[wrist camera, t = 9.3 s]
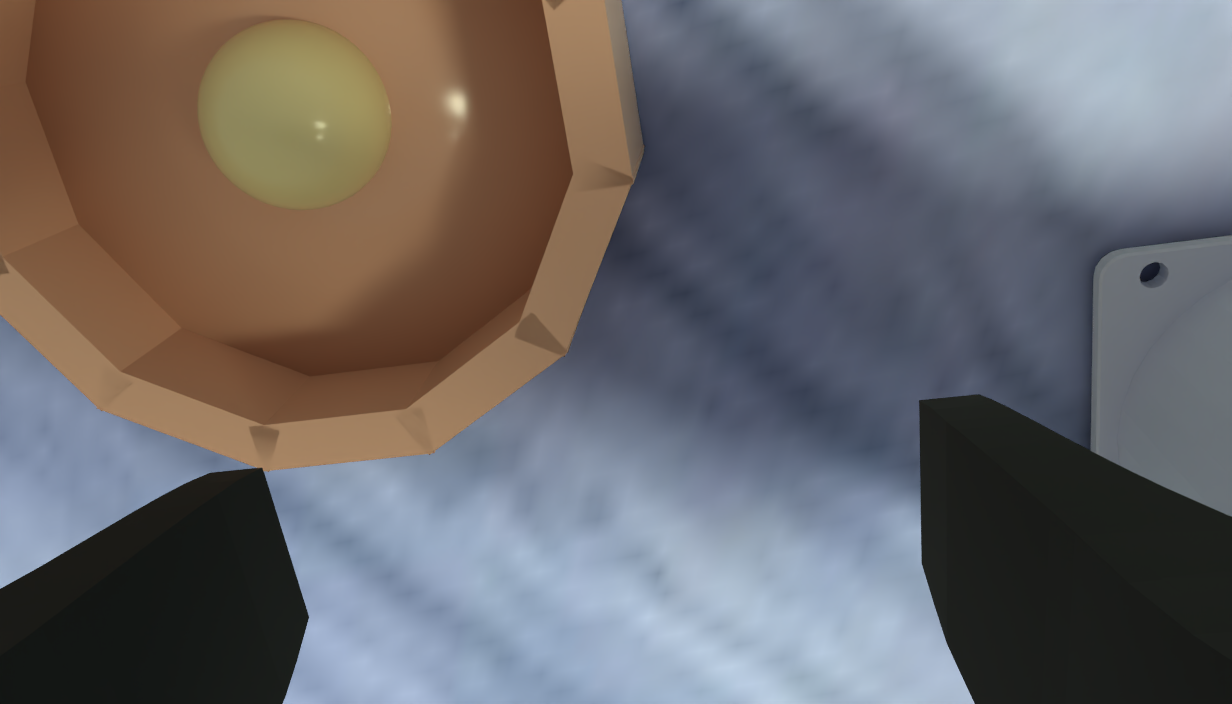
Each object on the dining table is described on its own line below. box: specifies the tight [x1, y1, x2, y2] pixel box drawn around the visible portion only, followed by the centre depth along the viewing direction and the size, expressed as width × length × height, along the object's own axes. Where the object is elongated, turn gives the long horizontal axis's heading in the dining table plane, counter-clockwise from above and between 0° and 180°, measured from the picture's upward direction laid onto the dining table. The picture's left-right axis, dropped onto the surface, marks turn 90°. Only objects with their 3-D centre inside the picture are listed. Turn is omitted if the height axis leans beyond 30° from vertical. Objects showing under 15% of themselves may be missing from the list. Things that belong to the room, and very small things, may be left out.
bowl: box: [0, 0, 645, 472], centre depth 19 cm, size 13×13×4 cm
